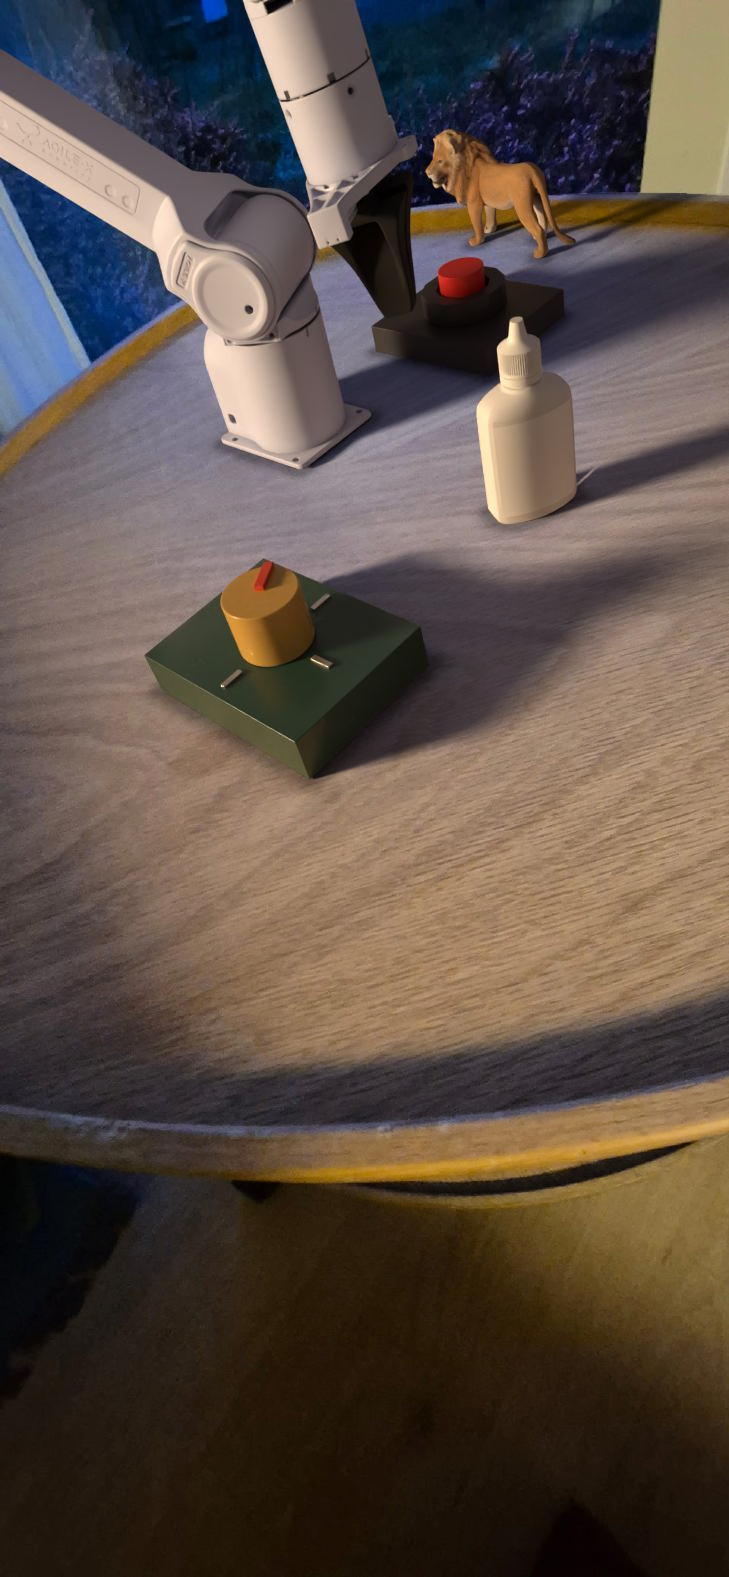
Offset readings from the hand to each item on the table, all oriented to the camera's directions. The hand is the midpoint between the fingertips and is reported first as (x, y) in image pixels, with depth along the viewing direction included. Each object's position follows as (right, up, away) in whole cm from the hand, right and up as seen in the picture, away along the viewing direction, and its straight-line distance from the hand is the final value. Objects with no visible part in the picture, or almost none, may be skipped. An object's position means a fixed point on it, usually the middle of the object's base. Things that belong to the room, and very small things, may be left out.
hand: (400, 310), depth 63 cm
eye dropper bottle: (+9, -14, -2) cm, 16 cm away
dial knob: (-7, -24, -10) cm, 27 cm away
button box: (+6, +5, +14) cm, 16 cm away
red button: (+5, +8, +12) cm, 15 cm away
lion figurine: (+10, +18, +24) cm, 32 cm away
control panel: (-7, -26, -8) cm, 28 cm away
